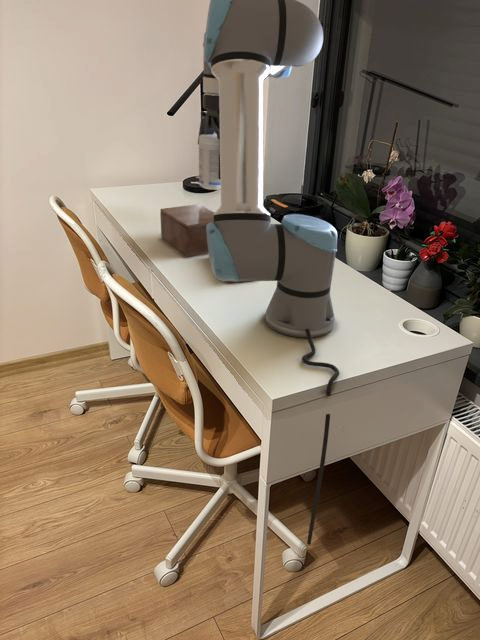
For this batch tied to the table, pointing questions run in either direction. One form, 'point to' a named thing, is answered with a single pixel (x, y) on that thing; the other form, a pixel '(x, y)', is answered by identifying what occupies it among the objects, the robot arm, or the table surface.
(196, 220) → the lid
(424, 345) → the table surface
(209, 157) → the supplement tub
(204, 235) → the chest
